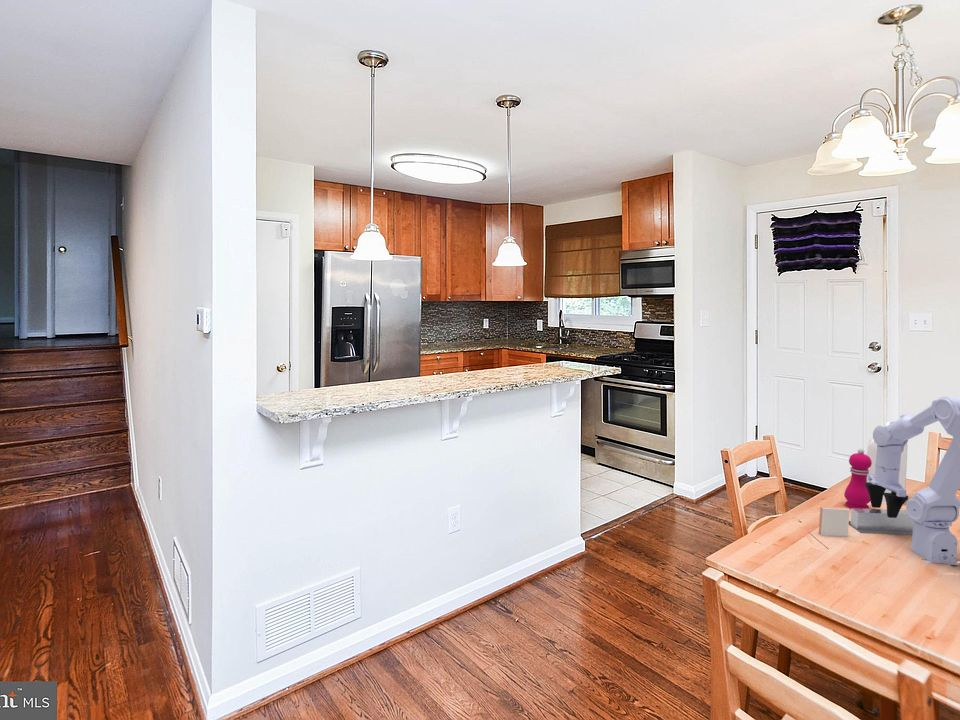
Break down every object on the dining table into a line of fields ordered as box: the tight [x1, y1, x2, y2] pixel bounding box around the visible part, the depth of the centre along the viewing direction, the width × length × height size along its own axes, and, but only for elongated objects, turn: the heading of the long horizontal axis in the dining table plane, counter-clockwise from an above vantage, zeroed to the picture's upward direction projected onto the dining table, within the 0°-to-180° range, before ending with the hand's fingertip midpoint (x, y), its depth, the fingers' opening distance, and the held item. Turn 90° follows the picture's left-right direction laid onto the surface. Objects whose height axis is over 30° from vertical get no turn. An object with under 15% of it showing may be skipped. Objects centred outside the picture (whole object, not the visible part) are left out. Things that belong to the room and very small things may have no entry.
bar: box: [850, 508, 913, 531], centre depth 162 cm, size 4×16×5 cm, turn 84°
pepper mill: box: [843, 448, 872, 510], centre depth 178 cm, size 7×7×20 cm
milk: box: [866, 421, 908, 507], centre depth 188 cm, size 12×12×26 cm
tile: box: [818, 506, 851, 537], centre depth 157 cm, size 2×7×8 cm, turn 84°
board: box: [849, 520, 913, 536], centre depth 162 cm, size 9×17×1 cm, turn 84°
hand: (883, 512), depth 162 cm, fingers open, 7 cm apart
